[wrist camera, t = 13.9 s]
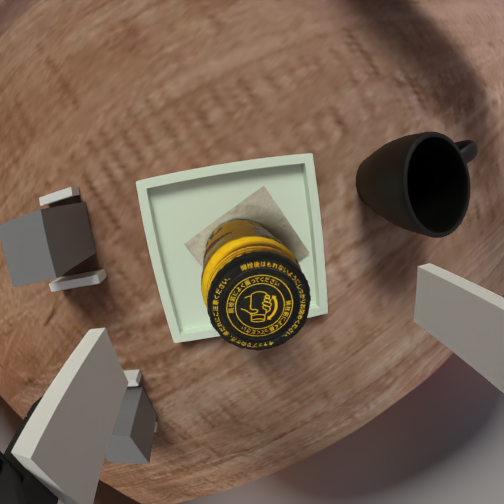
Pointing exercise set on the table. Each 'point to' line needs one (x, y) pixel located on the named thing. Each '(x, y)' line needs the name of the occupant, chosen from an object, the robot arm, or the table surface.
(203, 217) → the tray
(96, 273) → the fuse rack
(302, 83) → the table surface
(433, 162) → the mug
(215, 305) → the condiment
